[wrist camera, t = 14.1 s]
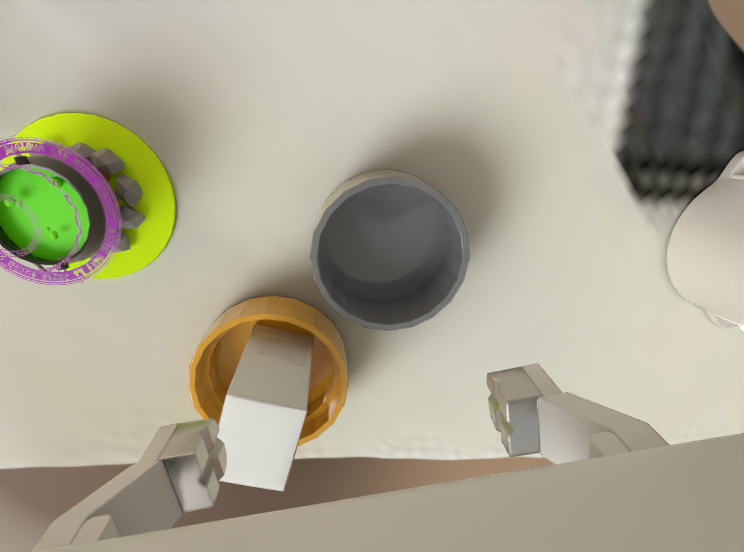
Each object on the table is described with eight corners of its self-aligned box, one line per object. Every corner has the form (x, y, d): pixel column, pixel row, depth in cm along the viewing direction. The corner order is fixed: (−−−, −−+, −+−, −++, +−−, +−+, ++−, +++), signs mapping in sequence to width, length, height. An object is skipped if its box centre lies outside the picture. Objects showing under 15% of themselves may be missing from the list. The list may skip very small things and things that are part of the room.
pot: (446, 160, 42) (463, 165, 36) (457, 293, 47) (474, 317, 41) (302, 181, 42) (296, 190, 36) (327, 314, 46) (325, 341, 41)
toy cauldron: (-29, 126, 38) (-165, 127, 28) (147, 100, 39) (77, 91, 28) (39, 289, 43) (-55, 342, 33) (195, 264, 44) (150, 308, 33)
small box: (297, 400, 49) (284, 494, 36) (238, 388, 48) (204, 480, 35) (316, 335, 46) (308, 411, 34) (254, 320, 45) (224, 393, 33)
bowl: (333, 283, 45) (333, 302, 40) (355, 407, 50) (357, 437, 45) (186, 306, 45) (169, 328, 40) (223, 429, 50) (211, 461, 45)
